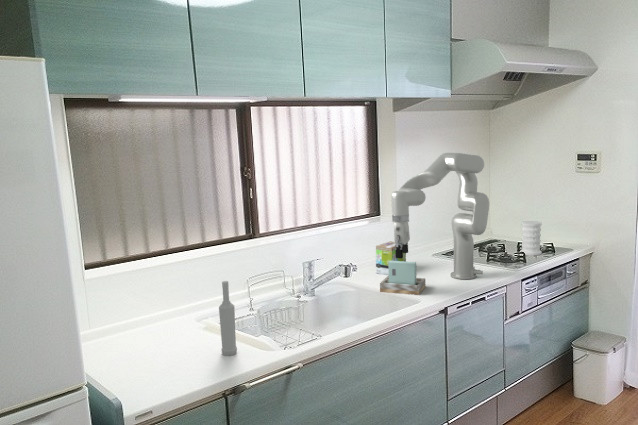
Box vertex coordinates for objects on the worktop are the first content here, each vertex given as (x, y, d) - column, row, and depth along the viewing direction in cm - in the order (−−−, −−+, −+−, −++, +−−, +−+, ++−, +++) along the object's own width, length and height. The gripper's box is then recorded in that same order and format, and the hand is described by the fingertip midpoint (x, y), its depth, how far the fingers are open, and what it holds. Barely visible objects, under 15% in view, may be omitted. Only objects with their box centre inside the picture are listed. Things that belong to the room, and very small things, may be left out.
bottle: (237, 355, 186) (233, 283, 182) (222, 357, 185) (217, 284, 181) (236, 349, 191) (232, 279, 187) (221, 351, 190) (217, 280, 186)
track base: (425, 286, 259) (425, 278, 258) (418, 295, 246) (418, 286, 245) (388, 283, 266) (388, 275, 265) (380, 291, 253) (379, 283, 252)
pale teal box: (416, 287, 252) (416, 262, 250) (414, 289, 249) (414, 263, 247) (390, 285, 257) (390, 260, 255) (388, 287, 254) (388, 262, 252)
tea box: (392, 276, 280) (392, 247, 278) (375, 273, 286) (374, 245, 284) (406, 269, 292) (406, 242, 289) (390, 267, 298) (389, 240, 295)
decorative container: (543, 251, 321) (543, 221, 319) (539, 256, 312) (540, 224, 309) (522, 250, 327) (522, 220, 325) (518, 254, 317) (519, 223, 315)
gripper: (404, 222, 239) (405, 260, 242) (413, 215, 255) (414, 251, 258) (387, 222, 242) (389, 259, 245) (397, 215, 258) (398, 250, 260)
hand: (402, 255), depth 251 cm, fingers open, 9 cm apart
